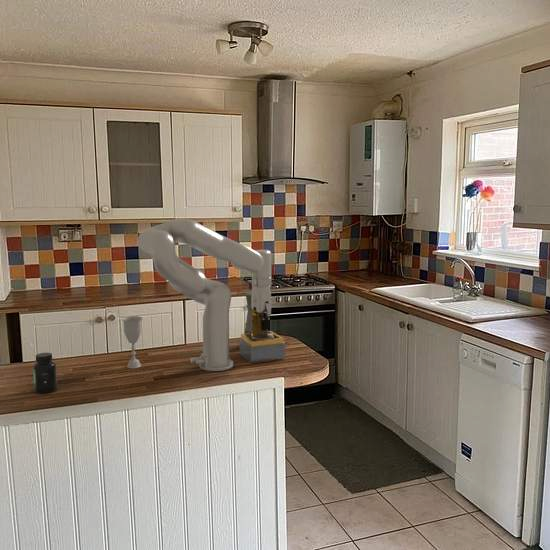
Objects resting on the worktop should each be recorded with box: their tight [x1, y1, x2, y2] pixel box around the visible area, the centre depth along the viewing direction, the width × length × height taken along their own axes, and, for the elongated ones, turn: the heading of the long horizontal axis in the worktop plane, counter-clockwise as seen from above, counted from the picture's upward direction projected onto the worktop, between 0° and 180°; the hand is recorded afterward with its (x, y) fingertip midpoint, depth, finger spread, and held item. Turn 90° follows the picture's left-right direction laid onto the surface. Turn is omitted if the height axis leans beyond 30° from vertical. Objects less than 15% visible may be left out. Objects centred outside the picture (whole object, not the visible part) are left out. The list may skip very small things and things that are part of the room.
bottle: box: [243, 280, 253, 334], centre depth 222 cm, size 9×9×28 cm
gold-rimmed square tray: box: [238, 330, 287, 364], centre depth 210 cm, size 16×13×8 cm
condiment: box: [251, 307, 274, 339], centre depth 208 cm, size 7×8×12 cm
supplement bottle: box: [32, 352, 58, 395], centre depth 173 cm, size 7×7×12 cm
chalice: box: [121, 315, 143, 369], centre depth 197 cm, size 7×7×18 cm
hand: (261, 327), depth 209 cm, fingers closed on condiment, 6 cm apart
